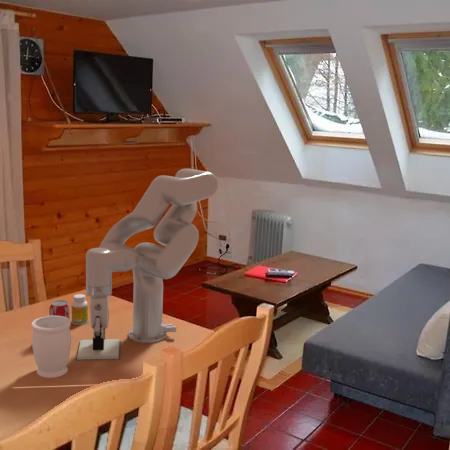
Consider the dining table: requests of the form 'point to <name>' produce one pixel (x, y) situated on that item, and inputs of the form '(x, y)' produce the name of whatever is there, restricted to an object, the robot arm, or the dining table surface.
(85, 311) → the supplement bottle
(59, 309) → the beverage can
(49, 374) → the jar
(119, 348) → the mat
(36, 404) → the dining table surface
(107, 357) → the lid
